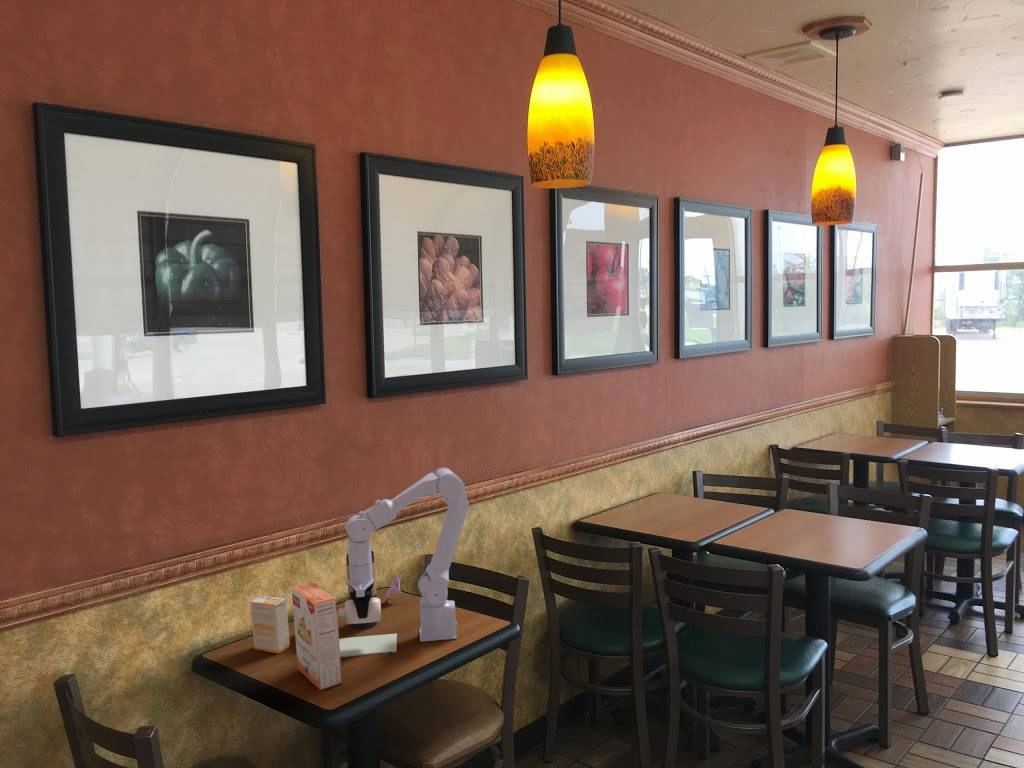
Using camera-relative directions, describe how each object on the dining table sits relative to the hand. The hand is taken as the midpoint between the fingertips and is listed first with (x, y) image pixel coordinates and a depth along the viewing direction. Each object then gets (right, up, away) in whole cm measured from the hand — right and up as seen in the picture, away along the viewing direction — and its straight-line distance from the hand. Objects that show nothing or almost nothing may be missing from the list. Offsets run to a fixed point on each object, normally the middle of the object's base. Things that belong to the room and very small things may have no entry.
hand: (363, 614), depth 212 cm
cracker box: (-8, -11, -16) cm, 21 cm away
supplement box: (-24, -10, +2) cm, 26 cm away
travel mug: (-3, -7, +16) cm, 17 cm away
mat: (0, -8, +1) cm, 8 cm away
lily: (+4, -5, +32) cm, 32 cm away
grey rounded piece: (0, -1, 0) cm, 1 cm away
